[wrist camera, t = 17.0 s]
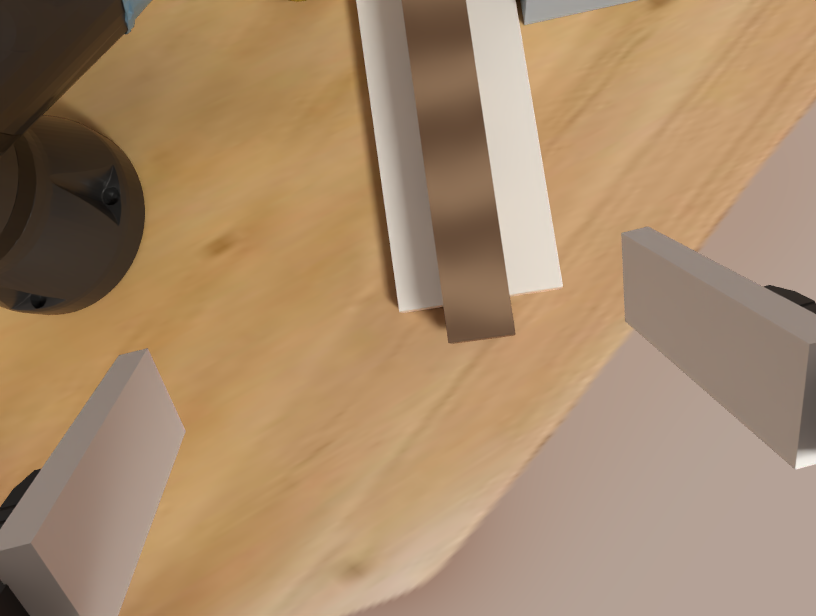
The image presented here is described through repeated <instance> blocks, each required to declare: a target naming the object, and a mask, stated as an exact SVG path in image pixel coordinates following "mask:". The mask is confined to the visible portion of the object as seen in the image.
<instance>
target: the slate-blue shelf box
mask: <svg viewBox="0 0 816 616" xmlns="http://www.w3.org/2000/svg"><path fill="white" fill-rule="evenodd" d="M632 1H636V0H520V2H521V8H522V14H523V20H524V25H527V24H532V23H536V22H541V21H545V20H550V19H554V18H559V17H563V16H568V15H573V14H577V13H582V12H586V11H591V10H595V9H600V8H604V7H609V6H614V5H618V4H623V3H627V2H632Z"/></svg>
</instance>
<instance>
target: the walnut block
mask: <svg viewBox="0 0 816 616" xmlns="http://www.w3.org/2000/svg"><path fill="white" fill-rule="evenodd" d="M401 1H402V8H403V15H404V23H405V30H406V37H407V44H408V52H409V59H410V66H411V74H412V81H413V88H414V95H415V103H416V110H417V117H418V125H419V132H420V139H421V146H422V154H423V161H424V168H425V176H426V183H427V190H428V197H429V205H430V212H431V219H432V227H433V234H434V241H435V248H436V256H437V263H438V270H439V278H440V285H441V292H442V299H443V307H444V314H445V321H446V329H447V336H448V343H452V344H454V343H462V342H469V341H477V340H484V339H492V338H499V337H507V336H514V335H515V328H514V321H513V314H512V308H511V301H510V294H509V287H508V281H507V274H506V267H505V260H504V254H503V247H502V240H501V233H500V227H499V220H498V213H497V206H496V200H495V193H494V186H493V179H492V173H491V166H490V159H489V152H488V146H487V139H486V132H485V125H484V119H483V112H482V105H481V98H480V92H479V85H478V78H477V71H476V65H475V58H474V51H473V44H472V38H471V31H470V24H469V17H468V11H467V4H466V0H401Z"/></svg>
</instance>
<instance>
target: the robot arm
mask: <svg viewBox="0 0 816 616" xmlns="http://www.w3.org/2000/svg"><path fill="white" fill-rule="evenodd" d="M151 1H152V0H0V307H3V308H6V309H9V310H13V311H17V312H22V313H33V314H46V315H58V314H66V313H71V312H75V311H78V310H81V309H83V308H86V307H88V306H90V305H92V304H93V303H95V302H97V301H98V300H100V299H101V298H103V297H104V296H105V295H106V294H108V293H109V292H110V291H111V290H112V289H113V288H114V287H115V286H116V285H117V284H118V283H119V282H120V280H121V279H122V278H123V277H124V275H125V274H126V272H127V271H128V269H129V268H130V266H131V264H132V262H133V260H134V258H135V256H136V254H137V251H138V249H139V245H140V242H141V239H142V234H143V229H144V220H145V205H144V197H143V191H142V187H141V184H140V181H139V178H138V175H137V173H136V171H135V169H134V167H133V165H132V164H131V162H130V160H129V159H128V158H127V156H126V155H125V154H124V153H123V151H122V150H121V149H120V148H119V147H118V146H117V145H115V144H114V143H113V142H112V141H110V140H109V139H108V138H106V137H104V136H103V135H101V134H99V133H97V132H95V131H93V130H92V129H90V128H88V127H86V126H84V125H82V124H80V123H77V122H75V121H72V120H68V119H65V118H61V117H55V116H47V115H43V114H44V113H45V112H46V111H47V110H48V109H49V108H50V107H51V106H52V105H53V104H54V103H55V102H56V101H57V100H58V99H59V98H60V97H61V96H62V95H63V94H64V93H65V92H66V91H67V90H68V89H69V88H70V87H71V86H72V85H73V84H74V83H75V82H76V81H77V80H78V79H79V78H80V77H81V76H82V75H83V74H84V73H85V72H86V71H87V70H88V69H89V68H90V67H91V66H92V65H93V64H94V63H95V62H96V61H97V60H98V59H99V58H100V57H101V56H102V55H103V54H104V53H105V52H106V51H107V50H108V49H109V48H110V47H111V46H112V45H113V44H114V43H115V42H116V41H117V40H118V39H119V38H120V37H121V36H122V35H123V34H128V33H129V32H131V29H132V28H133V27H134V24H135V19H136V18H137V17H138V16H139V15H140V13H141V12H142V11H143V10H144V9H145V8H146V7H147V5H148V4H149V3H150V2H151ZM621 236H622V259H623V282H624V305H625V321H626V322H627V323H628V324H629V325H630V326H631V327H632V328H634V329H635V330H636V331H637V332H638V333H639V334H641V335H642V336H643V337H644V338H645V339H646V340H647V341H649V342H650V343H651V344H652V345H653V346H654V347H655V348H657V349H658V350H659V351H660V352H661V353H662V354H663V355H665V356H666V357H667V358H668V359H669V360H670V361H671V362H673V363H674V364H675V365H676V366H677V367H678V368H679V369H681V370H682V371H683V372H684V373H685V374H686V375H687V376H689V377H690V378H691V379H692V380H693V381H694V382H696V383H697V384H698V385H699V386H700V387H701V388H702V389H703V390H705V391H706V392H707V393H708V394H709V395H710V396H712V397H713V398H714V399H715V400H716V401H717V402H719V403H720V404H721V405H722V406H723V407H724V408H725V409H727V410H728V411H729V412H730V413H731V414H732V415H733V416H734V417H736V418H737V419H738V420H739V421H740V422H741V423H742V424H744V425H745V426H746V427H747V428H748V429H749V430H751V431H752V432H753V433H754V434H755V435H756V436H757V437H758V438H760V439H761V440H762V441H763V442H764V443H765V444H767V445H768V446H769V447H770V448H771V449H772V450H773V451H774V452H776V453H777V454H778V455H779V456H780V457H781V458H782V459H784V460H785V461H786V462H787V463H788V464H789V465H791V466H792V467H793V468H794V469H799V468H803V467H806V466H810V465H814V464H816V303H815V301H813V300H812V299H809V298H807V297H805V296H803V295H801V294H799V293H797V292H795V291H791V290H787V289H784V288H780V287H775V286H771V285H768V286H764V287H763V286H761V285H759V284H757V283H755V282H753V281H751V280H749V279H747V278H746V277H744V276H741V275H740V274H737V273H736V272H734V271H732V270H730V269H728V268H726V267H724V266H723V265H720V264H719V263H717V262H715V261H713V260H711V259H709V258H707V257H705V256H703V255H701V254H699V253H698V252H696V251H694V250H692V249H690V248H688V247H686V246H684V245H682V244H680V243H678V242H677V241H675V240H673V239H671V238H669V237H667V236H665V235H663V234H661V233H659V232H657V231H655V230H654V229H652V228H650V227H644V228H640V229H636V230H632V231H628V232H624V233H621ZM184 434H185V429H184V426H183V424H182V422H181V420H180V418H179V416H178V413H177V411H176V409H175V407H174V405H173V403H172V400H171V398H170V396H169V394H168V392H167V389H166V387H165V385H164V383H163V381H162V379H161V376H160V374H159V372H158V370H157V368H156V365H155V363H154V361H153V359H152V357H151V355H150V352H149V350H148V348H147V349H143V350H139V351H135V352H131V353H126V354H122V355H119V356H118V357H117V359H116V360H115V362H114V363H113V365H112V366H111V368H110V369H109V371H108V372H107V374H106V375H105V377H104V378H103V379H102V381H101V382H100V384H99V385H98V387H97V388H96V390H95V391H94V393H93V394H92V396H91V397H90V398H89V400H88V401H87V403H86V404H85V406H84V407H83V409H82V410H81V412H80V413H79V415H78V416H77V418H76V419H75V420H74V422H73V423H72V425H71V426H70V428H69V429H68V431H67V432H66V434H65V435H64V437H63V438H62V440H61V441H60V442H59V444H58V445H57V447H56V448H55V450H54V451H53V453H52V454H51V456H50V457H49V459H48V460H47V461H46V463H45V464H44V466H43V467H42V469H38V470H34V471H33V472H32V473H31V474H30V475H29V476H28V477H26V478H25V479H24V480H23V481H22V482H21V483H20V484H19V485H17V486H16V487H15V488H14V489H13V490H12V491H11V493H10V494H9V496H8V497H7V498H6V500H5V501H4V503H3V504H2V505H1V507H0V616H118V614H119V611H120V609H121V606H122V603H123V601H124V598H125V595H126V592H127V590H128V587H129V584H130V581H131V579H132V576H133V573H134V570H135V568H136V565H137V562H138V560H139V557H140V554H141V551H142V549H143V546H144V543H145V540H146V538H147V535H148V532H149V530H150V527H151V524H152V521H153V519H154V516H155V513H156V510H157V508H158V505H159V502H160V500H161V497H162V494H163V491H164V489H165V486H166V483H167V480H168V478H169V475H170V472H171V469H172V467H173V464H174V461H175V459H176V456H177V453H178V450H179V448H180V445H181V442H182V439H183V437H184Z"/></svg>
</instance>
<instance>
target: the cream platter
mask: <svg viewBox="0 0 816 616" xmlns="http://www.w3.org/2000/svg"><path fill="white" fill-rule="evenodd" d="M356 3H357V10H358V17H359V25H360V32H361V39H362V46H363V53H364V61H365V68H366V75H367V82H368V89H369V97H370V104H371V111H372V118H373V125H374V133H375V140H376V147H377V154H378V161H379V169H380V176H381V183H382V190H383V197H384V205H385V212H386V219H387V226H388V233H389V241H390V248H391V255H392V262H393V269H394V277H395V284H396V291H397V298H398V305H399V312H402V313H406V312H413V311H419V310H426V309H432V308H439V307H443V299H442V292H441V285H440V278H439V270H438V263H437V256H436V248H435V241H434V234H433V227H432V219H431V212H430V205H429V197H428V190H427V183H426V176H425V168H424V161H423V154H422V146H421V139H420V132H419V125H418V117H417V110H416V103H415V95H414V88H413V81H412V74H411V66H410V59H409V52H408V44H407V37H406V30H405V23H404V15H403V8H402V1H401V0H356ZM466 4H467V11H468V17H469V24H470V31H471V38H472V44H473V51H474V58H475V65H476V71H477V78H478V85H479V92H480V98H481V105H482V112H483V119H484V125H485V132H486V139H487V146H488V152H489V159H490V166H491V173H492V179H493V186H494V193H495V200H496V206H497V213H498V220H499V227H500V233H501V240H502V247H503V254H504V260H505V267H506V274H507V281H508V287H509V294H510V297H511V296H517V295H524V294H531V293H537V292H544V291H550V290H557V289H561V288H562V287H563V284H562V278H561V272H560V266H559V259H558V253H557V247H556V241H555V235H554V229H553V223H552V217H551V211H550V205H549V199H548V193H547V187H546V181H545V175H544V169H543V163H542V157H541V151H540V145H539V139H538V133H537V127H536V121H535V115H534V109H533V103H532V97H531V91H530V85H529V79H528V73H527V67H526V61H525V55H524V49H523V43H522V37H521V31H520V25H519V19H518V13H517V7H516V1H515V0H466Z"/></svg>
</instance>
